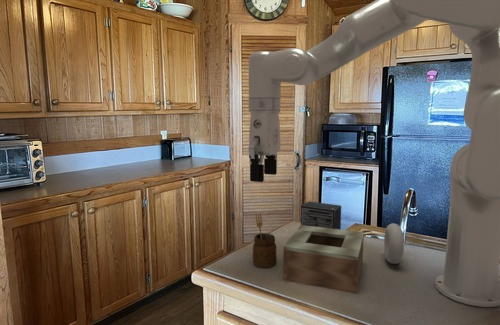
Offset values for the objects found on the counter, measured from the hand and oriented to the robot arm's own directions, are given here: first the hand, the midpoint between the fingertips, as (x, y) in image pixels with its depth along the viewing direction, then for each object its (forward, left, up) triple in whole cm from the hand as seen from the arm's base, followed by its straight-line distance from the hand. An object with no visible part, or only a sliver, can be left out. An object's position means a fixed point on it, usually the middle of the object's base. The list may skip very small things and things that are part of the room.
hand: (263, 177), depth 87 cm
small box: (-10, -22, -22) cm, 33 cm away
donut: (-30, -12, -22) cm, 39 cm away
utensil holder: (0, 0, -22) cm, 22 cm away
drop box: (-15, -1, -22) cm, 27 cm away
